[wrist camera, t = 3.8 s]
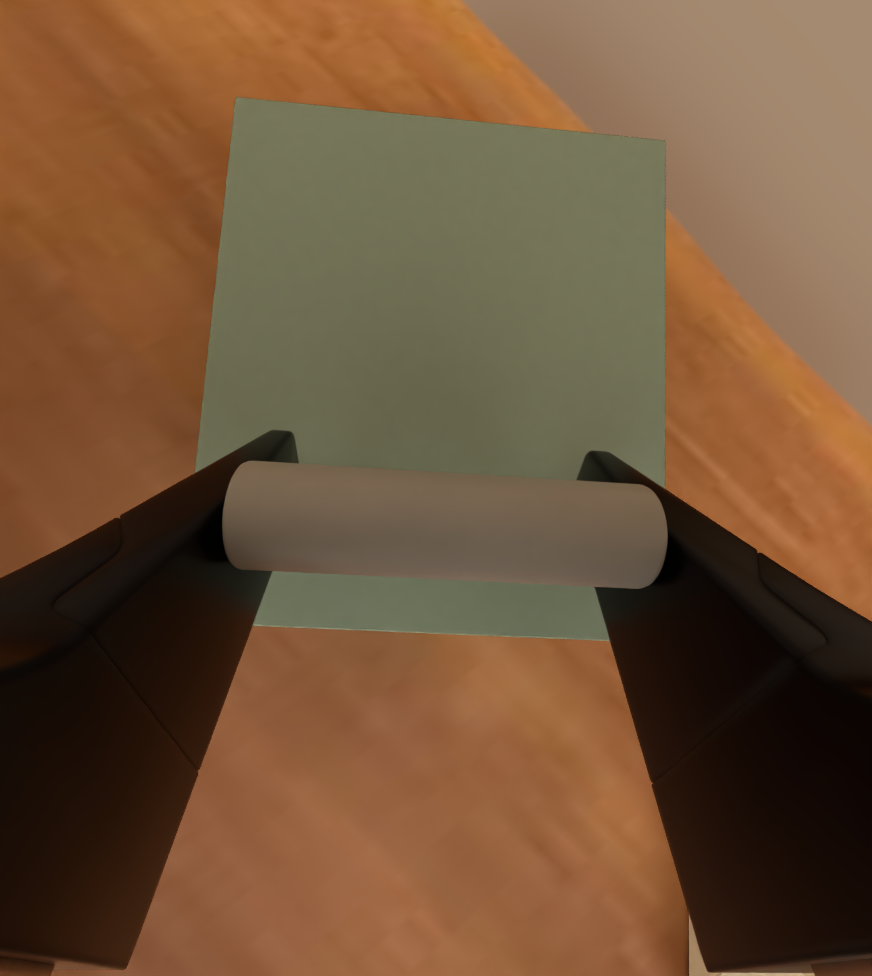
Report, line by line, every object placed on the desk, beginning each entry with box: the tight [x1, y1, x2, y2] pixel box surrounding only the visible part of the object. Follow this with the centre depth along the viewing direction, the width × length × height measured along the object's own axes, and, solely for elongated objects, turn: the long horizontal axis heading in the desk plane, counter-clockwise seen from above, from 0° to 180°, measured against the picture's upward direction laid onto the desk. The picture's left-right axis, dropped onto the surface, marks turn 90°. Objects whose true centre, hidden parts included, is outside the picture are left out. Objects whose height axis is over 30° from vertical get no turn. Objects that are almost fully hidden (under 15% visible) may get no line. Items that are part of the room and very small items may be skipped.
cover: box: [195, 97, 668, 641], centre depth 9 cm, size 13×11×5 cm
